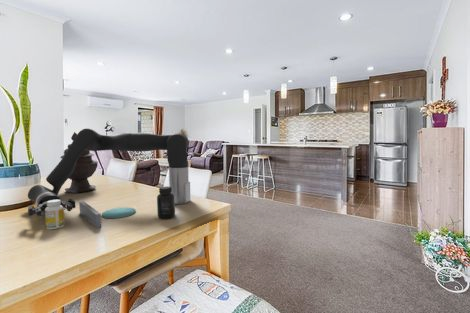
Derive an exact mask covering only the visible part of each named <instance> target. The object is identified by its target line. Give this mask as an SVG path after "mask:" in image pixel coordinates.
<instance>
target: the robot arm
mask: <svg viewBox="0 0 470 313" xmlns="http://www.w3.org/2000/svg"><path fill="white" fill-rule="evenodd" d="M76 134H77V136H76V137H75V139H74V140H72V142H71V143H72V144H71V143H70V144H71V145H70V147H69V149H68V148H67V149H68V150H67V152H66V154H65V155H64V154H63V155H64V157H63V158H61V159H60V161H59V162H58V164H57V165H56V166H55V167H54V168H53V169H52V171H51V172H50V173H49V174H48V175H47V177H46V179H45V180H46V182H47V183H48V184H49V185H51V186H52V189H50V188H48V187H46V186H44V185H40V184H36V185H33V186H32V187H30V188H29V191H28V193H27V198H28V199H29V200H30V201H32V202H33V203H35V204H36V206H34V205H32V204H30V205H27V212H28V213H27V214H28V216H29V217H32V216H34V215H35V216H36V217H39V218H40V217H42V215H43V214H44V215H45V209H46V208H47V207H48V206H47V201H50V200H56V199H58V200H61V204H60V205H62V206H63V211H66V210H67V212H71V211H72V210H73V209H76V208H77V207H76V206H77V205H76V200H74V199H72V198H69V199H67V201H66V200H62V199H61V198H60V197H59V192H60V190H61V189H62V187H63V185H64V184H65V183H66V182H67V180H68V178H69V177H70V176H71V174H72V173H73V171H74V168H75V165H76V162H77V160H78V158H79V156H80V155H81V153H82V152H83V151H84V150H85V149H87V150H90V152H99V151H100V152H101V151H121V152H151V151H152V152H153V151H166V154H167V156H166V158H167V163H168V185H169V186H168V187H172V192H171V193H172V194H174V197H175V205H181V204H185V205H186V204H188V203H189V202H190V201H191V181H190V180H189V178H190V177H189V160H188V150H187V149H188V148H189V146H190V140H189V139H188V137H187V136H186V135H185V134H183V133H173V134H163V135H162V134H154V133H147V132H139V131H137V132H136V131H135V132H134V131H133V132H132V131H129V132H122V133H120V134H117V135H109V134H108V135H106V134H105V135H104V134H101V133H98V132H97V131H96V130H94V129H92V128H87V127H86V128H83V129H81V130H79V132H78V133H76Z"/></svg>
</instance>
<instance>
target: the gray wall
mask: <svg viewBox="0 0 470 313" xmlns="http://www.w3.org/2000/svg"><path fill="white" fill-rule="evenodd" d="M78 204H79V214H80V215H81V216H82V217H84V218H85V219H86V220H87V222H89V223H90V224H91V225H92V226H93V227H94V228H96V229H99V228H102V215H101V214H102V213H101V212H99V211H98V210H96V209H95V208H94V207H92V206H91V205H90V204H88V203H87V202H85V201H84V200H81V201H78Z"/></svg>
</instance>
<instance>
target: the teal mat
mask: <svg viewBox="0 0 470 313" xmlns="http://www.w3.org/2000/svg"><path fill="white" fill-rule="evenodd" d="M136 212H137V211H136V209H135V208H134V207H128V206H127V207H116V208H111V209H107V210H105V211H103V212H102V213H100V214H101V218H104V219H112V220H113V219H122V218H127V217H130V216H132V215H133V216H134V214H136Z"/></svg>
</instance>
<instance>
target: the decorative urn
mask: <svg viewBox="0 0 470 313" xmlns="http://www.w3.org/2000/svg"><path fill="white" fill-rule="evenodd" d="M77 134H78V133H76V132H75V131H74V132H73V134H72V136H71V137H70V138H71V140H72V141H73V140H74V139H75V137H76V136H77ZM71 144H72V142H71V143H69V144H68V145H67V148H66V149H64V150H63V155H61V156H60V157H59V158H60V159H62V158H63V157H64V155H65V154H66V152H67V150H68V149H69V147H70V145H71ZM93 156H95V154H94V153H92V152H91V151H90V150H87V149H85V150H84V151H83V152H82V153H81V155H80V156H79V158H78V160H77V162H76V165H75V168H74V171H73V173H72V174H71V176H70V177H69V178H68V179H69V180H71V183H70V187H66V188H64V191H65V192H67V193H72V194H78V193H79V194H81V193H83V192H89V191H93V190H94V189H96V188H97V186H96V185H94V184H90V182H89V179H88V178H91V177H93V175H94V174H95V172H96V171H97V168H98V163H99V162H98V161H97V160H95V159H93V158H92V157H93ZM68 179H67V180H68Z"/></svg>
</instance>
